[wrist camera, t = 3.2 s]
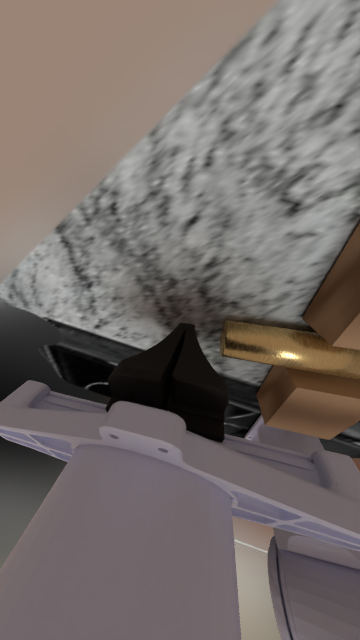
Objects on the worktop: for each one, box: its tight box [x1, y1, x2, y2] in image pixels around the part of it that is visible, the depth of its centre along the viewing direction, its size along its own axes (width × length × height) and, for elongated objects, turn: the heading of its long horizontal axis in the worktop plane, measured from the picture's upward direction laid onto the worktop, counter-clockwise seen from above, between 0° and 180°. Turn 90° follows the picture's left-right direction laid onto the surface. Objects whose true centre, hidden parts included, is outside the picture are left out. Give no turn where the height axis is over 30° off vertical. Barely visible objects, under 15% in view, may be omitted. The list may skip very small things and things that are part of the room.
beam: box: [256, 223, 360, 440], centre depth 11 cm, size 18×6×3 cm, turn 178°
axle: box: [220, 320, 360, 380], centre depth 12 cm, size 12×3×3 cm, turn 88°
